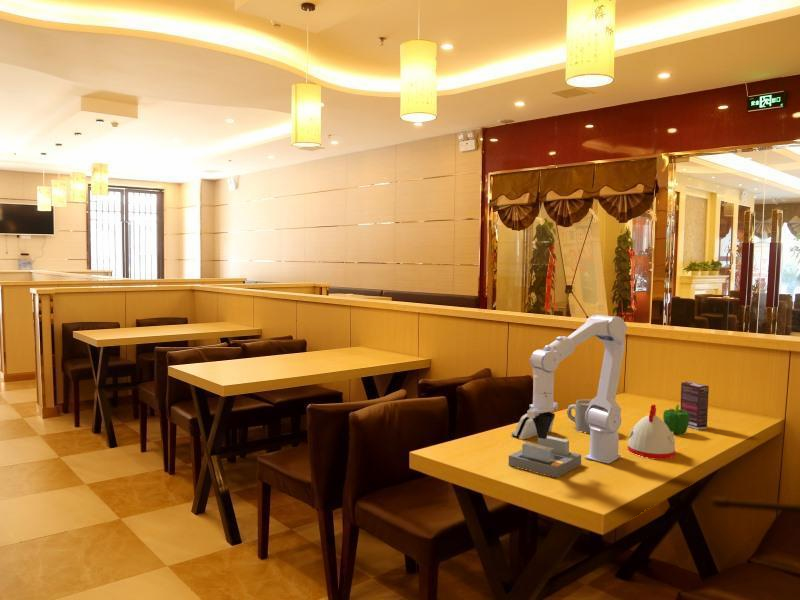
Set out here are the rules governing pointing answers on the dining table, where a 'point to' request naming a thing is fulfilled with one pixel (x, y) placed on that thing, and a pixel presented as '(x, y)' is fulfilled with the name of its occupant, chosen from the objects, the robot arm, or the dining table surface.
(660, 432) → the chicken hat
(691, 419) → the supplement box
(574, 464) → the rack
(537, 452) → the panel
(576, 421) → the coffee mug
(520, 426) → the white arched block
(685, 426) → the bell pepper
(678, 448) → the dining table surface
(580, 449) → the dining table surface
